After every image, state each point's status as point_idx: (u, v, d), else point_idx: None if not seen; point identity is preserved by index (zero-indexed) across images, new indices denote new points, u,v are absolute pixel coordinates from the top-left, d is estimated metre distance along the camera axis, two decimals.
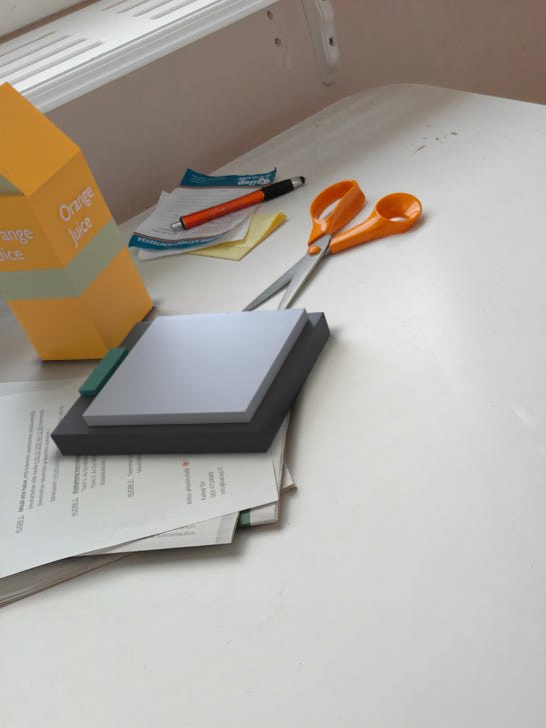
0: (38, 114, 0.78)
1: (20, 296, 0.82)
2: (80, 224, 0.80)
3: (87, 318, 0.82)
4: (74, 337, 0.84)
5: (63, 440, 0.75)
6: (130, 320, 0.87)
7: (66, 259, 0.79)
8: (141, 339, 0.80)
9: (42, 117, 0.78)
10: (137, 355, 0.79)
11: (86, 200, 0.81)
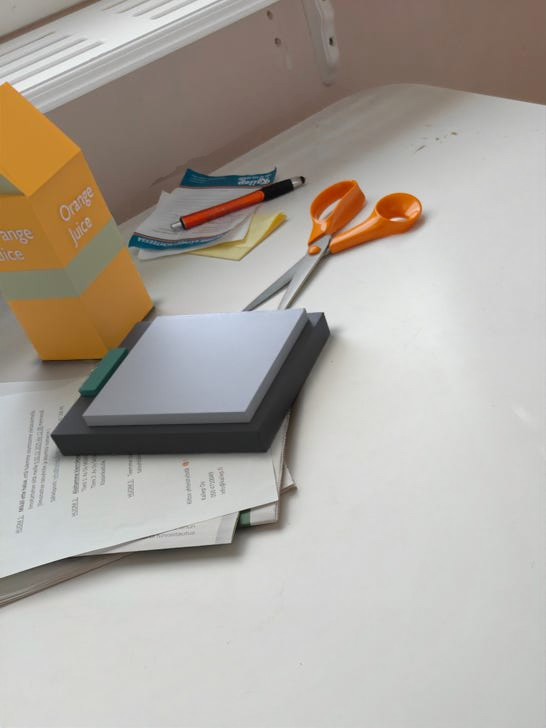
0: (38, 114, 0.78)
1: (20, 296, 0.82)
2: (80, 224, 0.80)
3: (87, 318, 0.82)
4: (74, 337, 0.84)
5: (63, 440, 0.75)
6: (130, 320, 0.87)
7: (66, 259, 0.79)
8: (141, 339, 0.80)
9: (42, 117, 0.78)
10: (137, 355, 0.79)
11: (86, 200, 0.81)
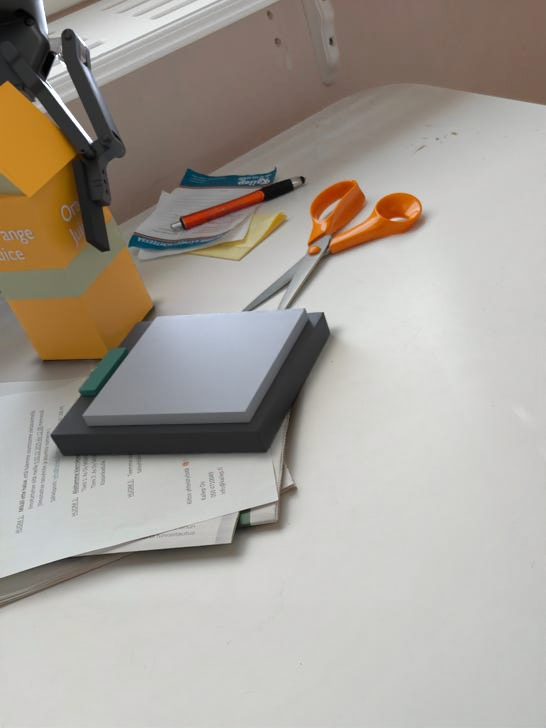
0: (39, 113, 0.78)
1: (21, 296, 0.82)
2: (81, 224, 0.80)
3: (88, 318, 0.82)
4: (74, 337, 0.84)
5: (63, 440, 0.75)
6: (130, 320, 0.87)
7: (67, 259, 0.79)
8: (141, 339, 0.80)
9: (43, 116, 0.78)
10: (137, 355, 0.79)
11: None
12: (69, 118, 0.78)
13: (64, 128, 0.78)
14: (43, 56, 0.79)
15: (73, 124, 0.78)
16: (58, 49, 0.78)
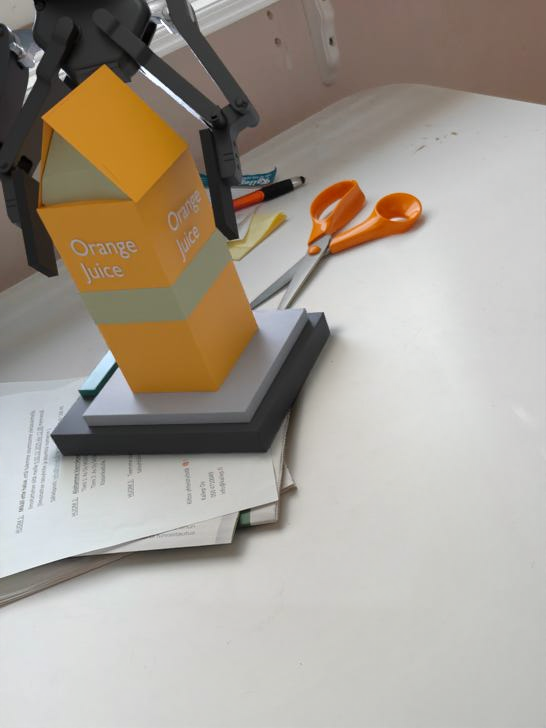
0: (141, 103, 0.65)
1: (114, 320, 0.70)
2: (187, 234, 0.68)
3: (194, 345, 0.70)
4: (175, 366, 0.72)
5: (63, 440, 0.75)
6: (236, 345, 0.75)
7: (173, 276, 0.67)
8: None
9: (145, 107, 0.66)
10: None
11: (194, 206, 0.68)
12: (189, 84, 0.65)
13: (185, 97, 0.65)
14: (143, 27, 0.65)
15: (195, 90, 0.65)
16: (164, 10, 0.65)
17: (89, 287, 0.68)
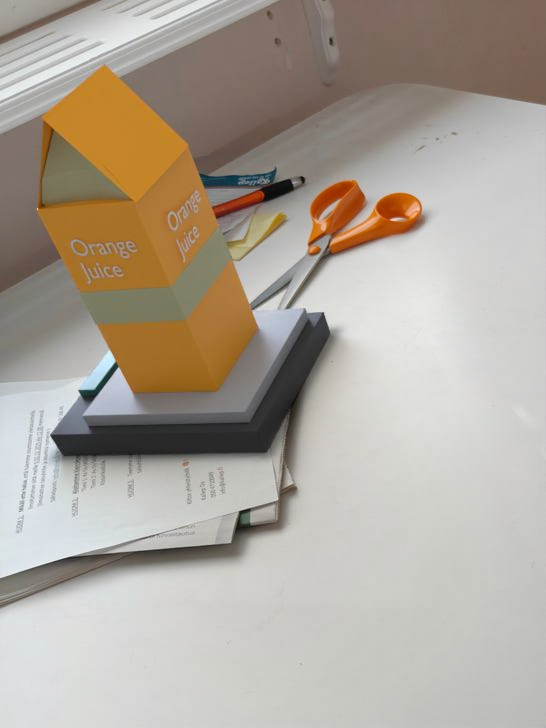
0: (140, 103, 0.65)
1: (114, 320, 0.70)
2: (187, 234, 0.68)
3: (194, 345, 0.70)
4: (175, 366, 0.72)
5: (63, 440, 0.75)
6: (236, 345, 0.75)
7: (173, 276, 0.67)
8: None
9: (145, 107, 0.66)
10: None
11: (194, 206, 0.68)
12: None
13: None
14: None
15: None
16: None
17: (89, 287, 0.68)
